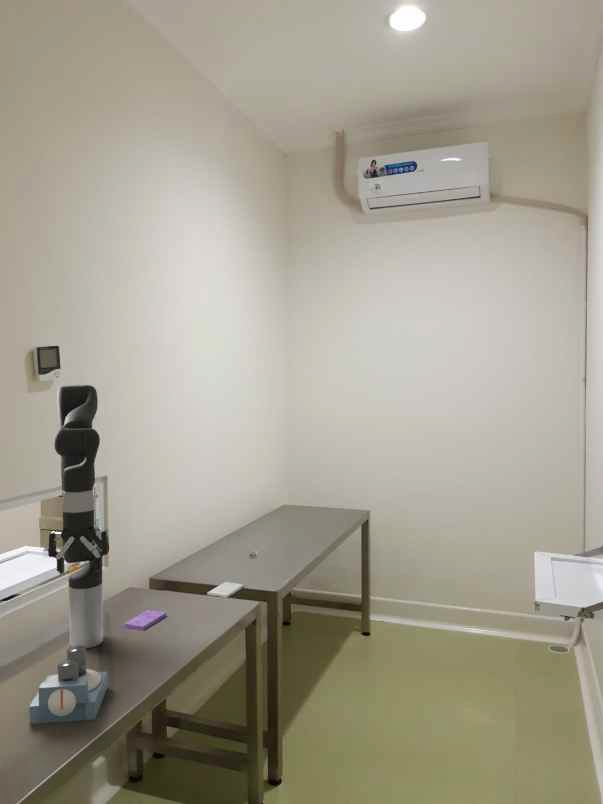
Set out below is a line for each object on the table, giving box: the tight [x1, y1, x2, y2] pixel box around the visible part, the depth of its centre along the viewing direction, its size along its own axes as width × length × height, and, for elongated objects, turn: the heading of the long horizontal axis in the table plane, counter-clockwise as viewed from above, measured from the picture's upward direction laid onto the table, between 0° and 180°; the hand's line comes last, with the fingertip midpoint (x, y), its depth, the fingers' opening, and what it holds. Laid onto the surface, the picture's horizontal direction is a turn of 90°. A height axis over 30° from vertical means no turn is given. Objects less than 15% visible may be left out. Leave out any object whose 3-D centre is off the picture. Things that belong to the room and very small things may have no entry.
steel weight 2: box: [57, 659, 78, 682], centre depth 144 cm, size 4×4×6 cm
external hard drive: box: [206, 581, 245, 599], centre depth 226 cm, size 2×8×12 cm
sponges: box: [124, 609, 167, 631], centre depth 198 cm, size 7×13×2 cm, turn 159°
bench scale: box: [29, 668, 108, 725], centre depth 146 cm, size 16×14×8 cm
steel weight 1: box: [66, 646, 87, 677], centre depth 152 cm, size 4×4×6 cm
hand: (79, 572), depth 156 cm, fingers open, 8 cm apart
